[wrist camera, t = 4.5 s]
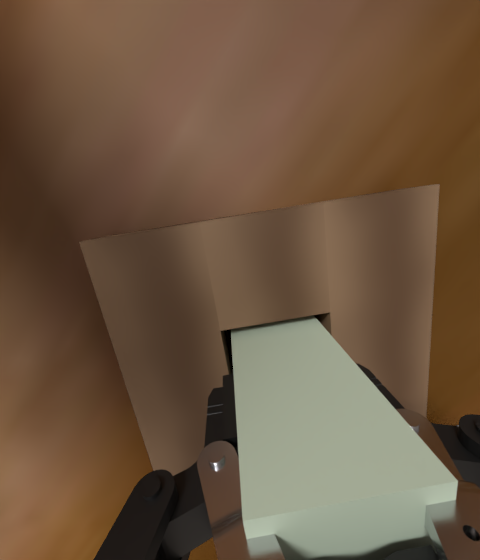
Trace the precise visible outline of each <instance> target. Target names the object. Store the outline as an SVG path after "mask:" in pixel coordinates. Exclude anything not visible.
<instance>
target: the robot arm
mask: <svg viewBox="0 0 480 560" xmlns="http://www.w3.org/2000/svg"><path fill="white" fill-rule="evenodd" d="M357 366H358V367H359V368H360V369H361V370H362V371H363V373H364V374H365V375H366V376H367V377H368V378H369V379H370V381H371V382H372V383H373V384H374V385H375V386H376V387H377V389H378V390H379V391H380V392H381V393H382V394H383V395H384V397H385V398H386V399H387V400H388V401H389V402H390V404H391V405H392V406H393V407H394V408H395V409H396V410H397V412H398V413H399V414H400V415H401V416H402V417H403V418H404V420H405V421H406V422H407V423H408V424H409V425H410V427H411V428H412V429H413V430H414V431H415V432H416V433H417V435H418V436H419V437H420V438H421V439H422V440H423V441H424V443H425V444H426V445H427V446H428V447H429V448H430V449H431V451H432V452H433V453H434V454H435V455H436V456H437V458H438V459H439V460H440V461H441V462H442V463H443V464H444V466H445V467H446V468H447V469H448V470H449V471H450V472H451V474H452V475H453V476H454V477H455V478H456V479H457V480H458V485H457V494H456V500H452V501H447V502H442V503H436V504H431V505H426V513H425V529H426V530H427V532H428V533H429V535H430V538H431V540H432V542H433V545H434V547H435V550H436V552H435V551H434V549H433V547H432V546H431V545H426V546H421V547H416V548H410V549H405V550H400V551H395V552H394V553H392V554H391V555H389V556H388V557H386V558H385V559H383V560H480V415H473V414H472V415H465V416H463V417H461V419H460V421H459V426H451V425H441V424H433V423H430V421H429V420H428V419H426V418H425V417H424V416H422V415H421V414H419V413H417V412H415V411H412V410H408V409H405V408H404V407H403V406H402V405H401V404H400V403H399V401H398V400H397V399H396V398H395V397H394V396H393V395H392V394H391V393H390V392H389V391H388V390H387V388H386V387H385V386H384V385H382V383H381V382H380V381H379V380H378V379H376V377H375V375H374V374H373V373H372V372H371V371H370V370H369V369H367V368H366V367H364V366H362V365H360V364H359V363H358V364H357ZM212 537H213V540H214V544H215V548H216V553H217V557H218V560H285V557H284V555H283V553H282V550H281V548H280V546H279V543H278V541H277V539H276V536H275V534H271V535H266V536H261V537H255V538H250V539H246V534H245V530H244V525H243V518H242V502H241V487H240V471H239V455H238V439H237V423H236V407H235V391H234V376H233V374H229V375H223V387H219V388H213V390H212V391H211V393H210V395H209V397H208V408H207V419H206V432H205V444H204V449H203V450H202V451H201V453H200V454H199V457H198V460H197V461H196V462H195V463H194V464H193V465H192V466H191V467H189V468H187V469H186V470H184V471H182V472H180V473H178V474H176V475H174V476H173V475H172V474H171V473H170V472H169V471H167V470H163V469H160V470H155V471H152V472H150V473H149V474H147V475H145V476H144V477H143V478H142V479H141V480H140V481H139V482H138V483H137V485H136V486H135V488H134V489H133V491H132V493H131V495H130V496H129V498H128V500H127V502H126V503H125V505H124V507H123V509H122V510H121V512H120V514H119V516H118V518H117V519H116V521H115V523H114V525H113V526H112V528H111V530H110V532H109V533H108V535H107V537H106V539H105V540H104V542H103V544H102V546H101V548H100V549H99V551H98V553H97V555H96V556H95V558H94V560H188V558H189V555H190V551H191V550H193V549H194V548H196V547H198V546H199V545H201V544H202V543H204V542H205V541H207V540H209V539H210V538H212ZM436 553H437V554H436Z"/></svg>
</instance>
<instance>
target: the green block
mask: <svg viewBox="0 0 480 560" xmlns="http://www.w3.org/2000/svg"><path fill="white" fill-rule="evenodd" d="M231 344H232V360H233V376H234V391H235V407H236V423H237V439H238V455H239V471H240V487H241V502H242V518H243V525H244V530H245V534H246V539H250V538H255V537H261V536H266V535H271V534H275V536H276V539H277V541H278V543H279V546H280V548H281V550H282V553H283V555H284V557H285V560H383V559H385V558H386V557H388V556H389V555H391V554H392V553H394V552H395V551H400V550H405V549H410V548H416V547H421V546H426V545H431V546H432V547H433V549H434V551H435V552H436V550H435V547H434V545H433V542H432V540H431V538H430V535H429V533H428V532H427V530H426V529H425V513H426V505H431V504H436V503H442V502H447V501H452V500H456V494H457V485H458V480H457V479H456V478H455V477H454V476H453V475H452V474H451V472H450V471H449V470H448V469H447V468H446V467H445V466H444V464H443V463H442V462H441V461H440V460H439V459H438V458H437V456H436V455H435V454H434V453H433V452H432V451H431V449H430V448H429V447H428V446H427V445H426V444H425V443H424V441H423V440H422V439H421V438H420V437H419V436H418V435H417V433H416V432H415V431H414V430H413V429H412V428H411V427H410V425H409V424H408V423H407V422H406V421H405V420H404V418H403V417H402V416H401V415H400V414H399V413H398V412H397V410H396V409H395V408H394V407H393V406H392V405H391V404H390V402H389V401H388V400H387V399H386V398H385V397H384V395H383V394H382V393H381V392H380V391H379V390H378V389H377V387H376V386H375V385H374V384H373V383H372V382H371V381H370V379H369V378H368V377H367V376H366V375H365V374H364V373H363V371H362V370H361V369H360V368H359V367H358V366H357V364H356V363H355V362H354V361H353V360H352V359H351V358H350V356H349V355H348V354H347V353H346V352H345V351H344V350H343V348H342V347H341V346H340V345H339V344H338V343H337V342H336V340H335V339H334V338H333V337H332V336H331V335H330V333H329V332H328V331H327V330H326V329H325V328H324V327H323V325H322V324H321V323H320V322H319V321H318V320H317V319H316V317H315V316H314V315H311V316H305V317H300V318H294V319H288V320H282V321H276V322H270V323H264V324H258V325H252V326H246V327H241V328H235V329H231ZM436 554H437V553H436Z"/></svg>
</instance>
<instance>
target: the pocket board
mask: <svg viewBox="0 0 480 560" xmlns="http://www.w3.org/2000/svg"><path fill="white" fill-rule="evenodd" d="M439 185H440V184H436V185H428V186H420V187H412V188H405V189H398V190H392V191H385V192H379V193H373V194H367V195H360V196H354V197H348V198H342V199H335V200H329V201H323V202H317V203H311V204H304V205H298V206H292V207H286V208H279V209H273V210H267V211H261V212H254V213H248V214H242V215H236V216H229V217H223V218H217V219H211V220H205V221H198V222H192V223H186V224H180V225H173V226H167V227H161V228H155V229H148V230H142V231H136V232H130V233H124V234H117V235H111V236H105V237H100V238H95V239H90V240H86V241H81V242H79V244H80V247H81V250H82V253H83V256H84V259H85V262H86V266H87V269H88V272H89V275H90V278H91V281H92V284H93V287H94V290H95V293H96V296H97V299H98V302H99V305H100V308H101V311H102V315H103V318H104V321H105V324H106V327H107V330H108V333H109V336H110V339H111V342H112V345H113V348H114V351H115V354H116V357H117V360H118V364H119V367H120V370H121V373H122V376H123V379H124V382H125V385H126V388H127V391H128V394H129V397H130V400H131V403H132V406H133V409H134V413H135V416H136V419H137V422H138V425H139V428H140V431H141V434H142V437H143V440H144V443H145V446H146V449H147V452H148V455H149V459H150V462H151V465H152V468H153V471H155V470H160V469H163V470H167V471H169V472H170V473H171V474H172V475H173V476H174V475H176V474H178V473H180V472H182V471H184V470H186V469H187V468H189V467H191V466H192V465H193V464H194V463H195V462H196V461H197V460H198V457H199V454H200V453H201V451H202V450H203V449H204V444H205V432H206V419H207V408H208V397H209V395H210V393H211V391H212V390H213V388H219V387H223V375H229V374H233V373H232V368H231V362H230V357H229V352H228V347H227V341H226V336H225V331H224V330H229V329H235V328H241V327H246V326H252V325H258V324H264V323H270V322H276V321H282V320H288V319H294V318H300V317H305V316H311V315H314V316H315V317H316V319H317V320H318V321H319V322H320V323H321V324H322V325H323V327H324V328H325V329H326V330H327V331H328V332H329V333H330V335H331V336H332V337H333V338H334V339H335V340H336V342H337V343H338V344H339V345H340V346H341V347H342V348H343V350H344V351H345V352H346V353H347V354H348V355H349V356H350V358H351V359H352V360H353V361H354V362H355V363H356V364H358V363H359V364H360V365H362V366H364V367H366V368H367V369H369V370H370V371H371V372H372V373H373V374H374V375H375V377H376V379H378V380H379V381H380V382H381V383H382V385H384V386H385V387H386V388H387V390H388V391H389V392H390V393H391V394H392V395H393V396H394V397H395V398H396V399H397V400H398V401H399V403H400V404H401V405H402V406H403V407H404V408H405V409H408V410H412V411H415V412H417V413H419V414H421V415H422V416H424V417H425V418H426V412H427V395H428V377H429V360H430V342H431V325H432V307H433V290H434V272H435V255H436V237H437V220H438V203H439Z"/></svg>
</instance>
